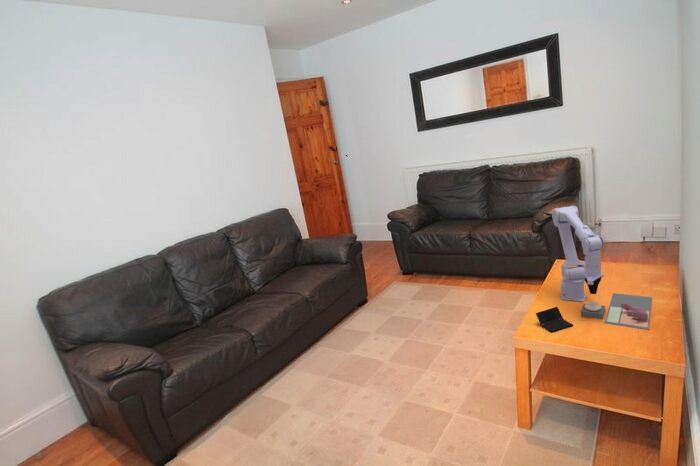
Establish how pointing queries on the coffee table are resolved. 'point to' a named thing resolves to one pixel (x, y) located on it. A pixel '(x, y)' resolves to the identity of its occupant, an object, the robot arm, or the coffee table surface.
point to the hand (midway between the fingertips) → (593, 293)
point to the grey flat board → (620, 315)
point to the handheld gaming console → (552, 320)
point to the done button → (593, 306)
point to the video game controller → (635, 311)
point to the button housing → (593, 312)
